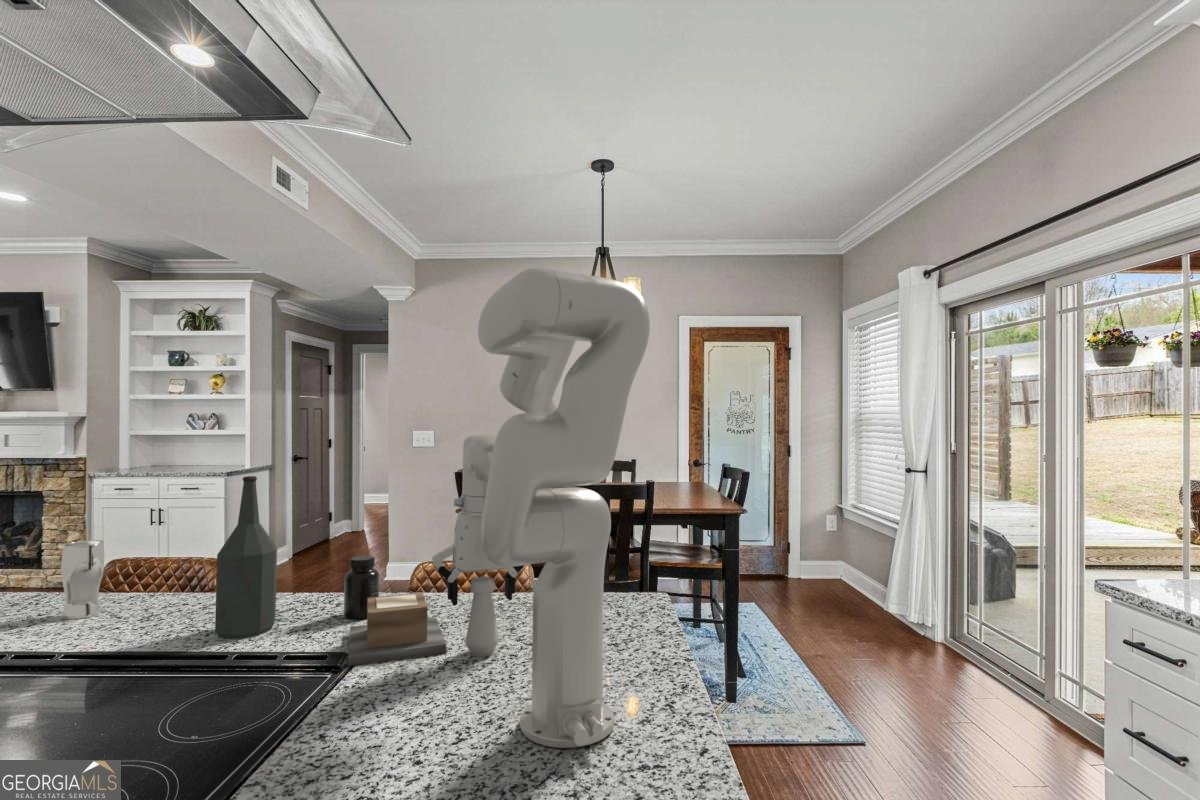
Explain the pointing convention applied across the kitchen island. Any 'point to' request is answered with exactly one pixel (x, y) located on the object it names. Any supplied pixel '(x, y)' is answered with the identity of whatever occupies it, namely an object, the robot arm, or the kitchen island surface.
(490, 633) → the salt shaker
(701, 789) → the kitchen island surface
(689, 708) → the kitchen island surface
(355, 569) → the supplement bottle
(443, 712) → the kitchen island surface
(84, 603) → the beer glass
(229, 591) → the bottle
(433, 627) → the plinth
